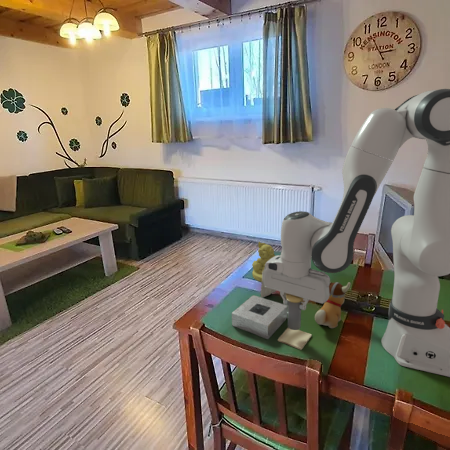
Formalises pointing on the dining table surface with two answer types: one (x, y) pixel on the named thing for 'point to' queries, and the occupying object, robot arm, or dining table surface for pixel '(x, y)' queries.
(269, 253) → the figurine
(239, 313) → the housing
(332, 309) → the toy
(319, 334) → the dining table surface
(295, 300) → the plug
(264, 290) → the stone tool
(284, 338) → the coaster
